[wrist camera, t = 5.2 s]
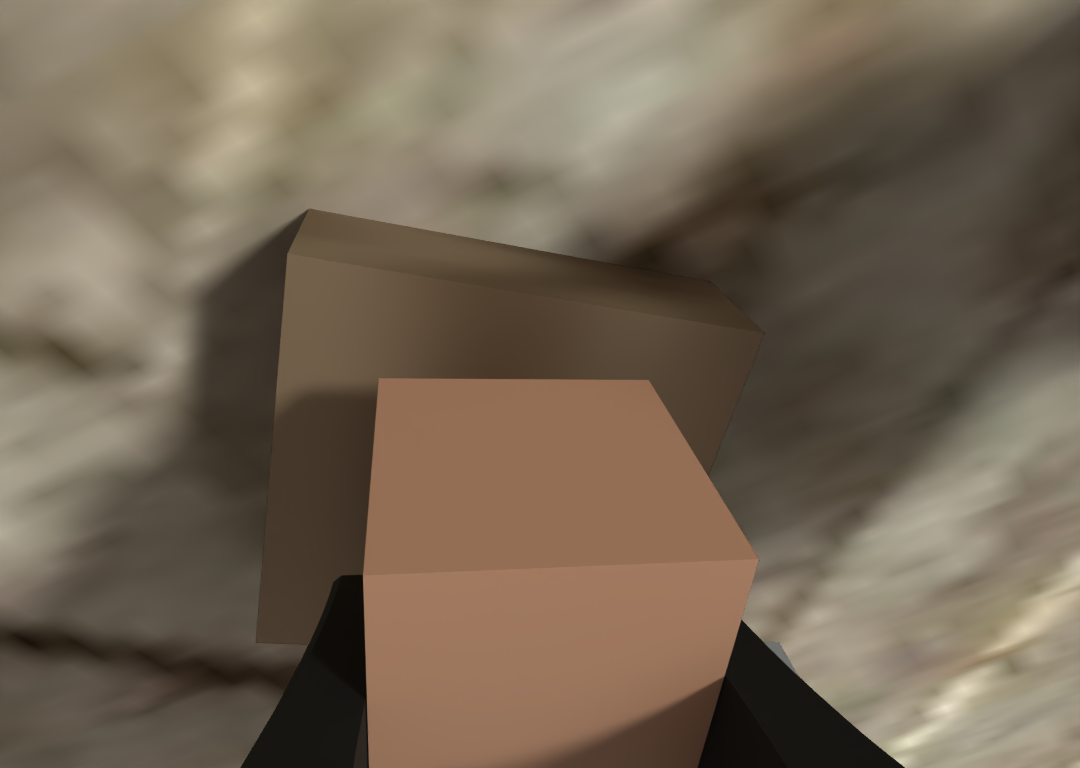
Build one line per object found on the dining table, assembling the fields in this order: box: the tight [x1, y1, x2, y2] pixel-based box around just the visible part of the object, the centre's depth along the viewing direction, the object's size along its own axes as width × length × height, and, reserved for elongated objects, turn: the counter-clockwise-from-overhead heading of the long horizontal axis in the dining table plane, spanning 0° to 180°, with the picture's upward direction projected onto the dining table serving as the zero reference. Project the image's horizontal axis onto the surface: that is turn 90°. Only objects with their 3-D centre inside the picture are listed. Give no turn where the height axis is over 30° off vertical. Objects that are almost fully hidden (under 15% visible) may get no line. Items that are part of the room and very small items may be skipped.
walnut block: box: [256, 209, 765, 645], centre depth 15 cm, size 8×8×3 cm
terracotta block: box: [363, 378, 759, 768], centre depth 10 cm, size 4×6×4 cm, turn 175°
